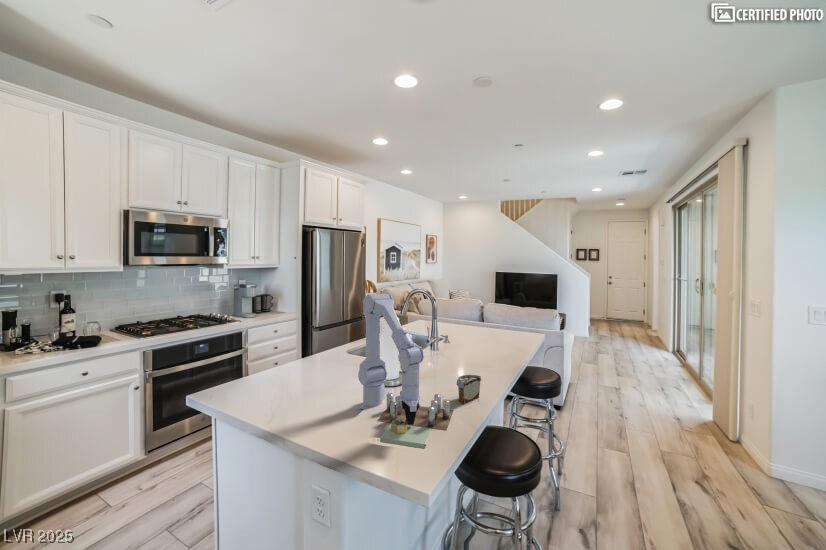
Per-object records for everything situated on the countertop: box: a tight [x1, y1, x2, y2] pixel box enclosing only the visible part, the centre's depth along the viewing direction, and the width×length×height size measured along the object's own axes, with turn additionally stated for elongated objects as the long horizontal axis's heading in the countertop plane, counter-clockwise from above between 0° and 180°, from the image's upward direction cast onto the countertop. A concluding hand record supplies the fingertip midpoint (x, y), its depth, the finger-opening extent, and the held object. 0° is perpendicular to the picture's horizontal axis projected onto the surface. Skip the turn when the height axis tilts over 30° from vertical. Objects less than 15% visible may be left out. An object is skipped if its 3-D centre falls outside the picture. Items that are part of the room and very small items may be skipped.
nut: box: [391, 418, 408, 434], centre depth 114 cm, size 6×5×3 cm
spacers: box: [386, 390, 451, 427], centre depth 124 cm, size 13×23×6 cm, turn 75°
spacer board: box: [376, 405, 454, 431], centre depth 124 cm, size 16×24×2 cm, turn 75°
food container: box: [456, 374, 482, 405], centre depth 140 cm, size 12×6×10 cm, turn 134°
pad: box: [379, 423, 432, 450], centre depth 112 cm, size 10×14×2 cm
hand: (410, 423), depth 116 cm, fingers closed
